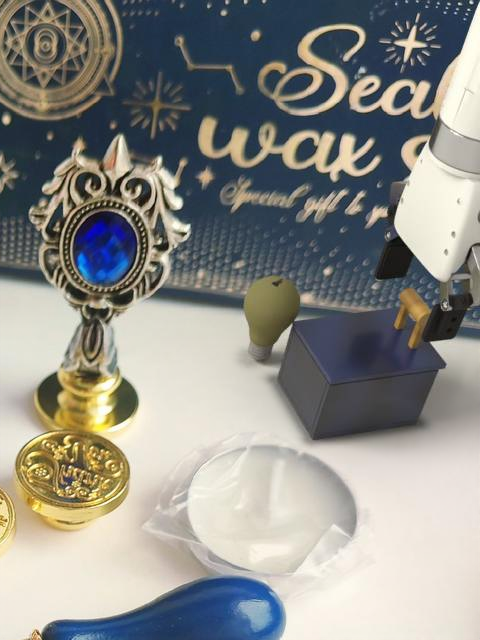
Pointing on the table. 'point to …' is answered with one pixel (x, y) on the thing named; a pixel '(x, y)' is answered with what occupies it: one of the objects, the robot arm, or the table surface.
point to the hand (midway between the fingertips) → (412, 307)
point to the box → (349, 396)
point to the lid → (371, 342)
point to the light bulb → (269, 313)
